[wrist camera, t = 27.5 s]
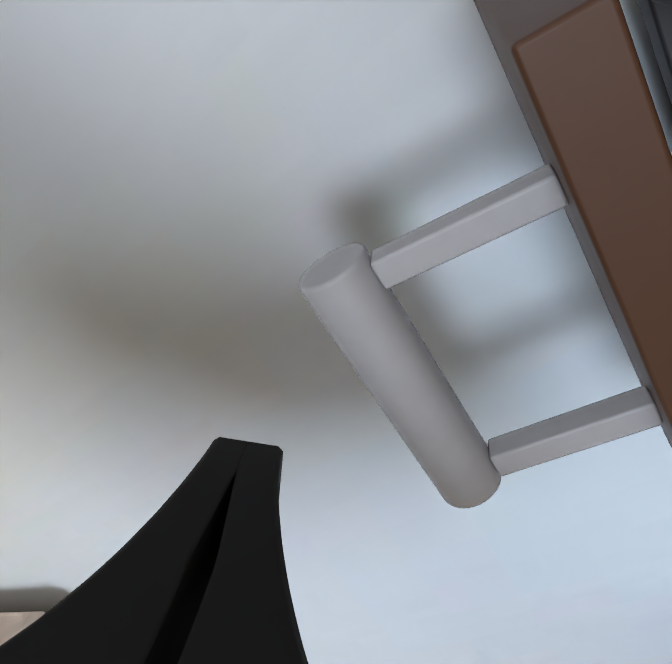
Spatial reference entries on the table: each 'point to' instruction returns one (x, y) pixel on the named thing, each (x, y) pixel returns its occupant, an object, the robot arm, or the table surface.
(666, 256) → the brown box drawer
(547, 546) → the table surface
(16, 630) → the bear figurine
